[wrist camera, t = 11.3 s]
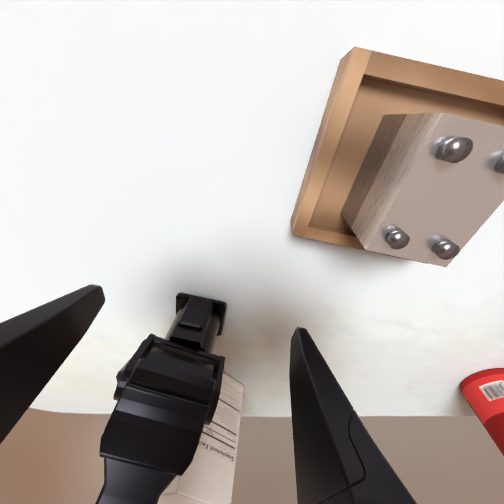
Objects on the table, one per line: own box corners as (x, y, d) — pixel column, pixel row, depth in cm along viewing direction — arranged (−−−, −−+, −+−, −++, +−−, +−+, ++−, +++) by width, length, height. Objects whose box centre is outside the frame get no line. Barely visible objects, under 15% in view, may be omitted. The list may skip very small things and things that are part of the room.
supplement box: (213, 398, 42) (186, 516, 30) (178, 377, 39) (131, 499, 27) (246, 386, 39) (231, 516, 26) (210, 362, 36) (174, 495, 23)
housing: (398, 225, 18) (453, 273, 12) (340, 212, 18) (369, 255, 12) (456, 130, 14) (573, 139, 9) (383, 114, 14) (453, 112, 8)
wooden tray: (409, 246, 21) (427, 263, 18) (290, 220, 21) (292, 234, 18) (512, 98, 14) (562, 94, 12) (340, 59, 14) (354, 46, 12)
